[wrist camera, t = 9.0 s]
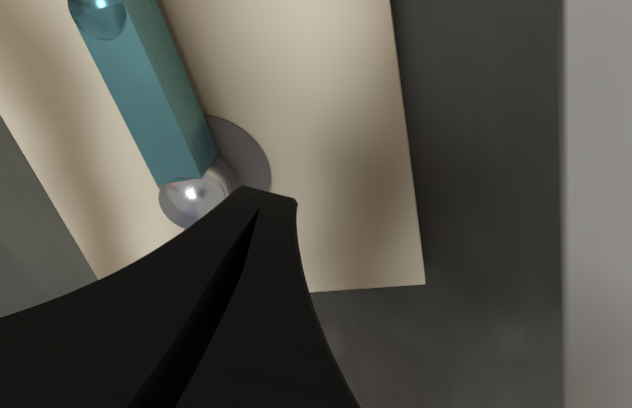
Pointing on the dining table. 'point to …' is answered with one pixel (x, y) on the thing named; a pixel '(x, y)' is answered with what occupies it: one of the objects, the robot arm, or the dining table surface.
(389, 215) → the latch board
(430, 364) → the dining table surface
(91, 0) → the teal rounded rod
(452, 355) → the dining table surface
